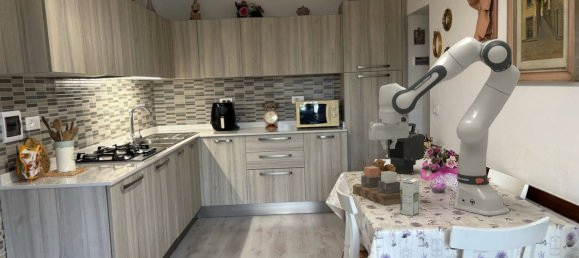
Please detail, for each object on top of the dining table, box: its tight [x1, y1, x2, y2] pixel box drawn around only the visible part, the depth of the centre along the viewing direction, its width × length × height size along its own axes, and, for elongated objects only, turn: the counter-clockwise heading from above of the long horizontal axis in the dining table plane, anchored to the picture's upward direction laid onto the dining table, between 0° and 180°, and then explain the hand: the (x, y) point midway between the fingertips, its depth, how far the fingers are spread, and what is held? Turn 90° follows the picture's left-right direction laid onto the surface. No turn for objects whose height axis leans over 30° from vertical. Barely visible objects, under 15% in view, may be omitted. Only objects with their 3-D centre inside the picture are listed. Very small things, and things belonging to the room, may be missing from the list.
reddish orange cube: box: [363, 165, 379, 178], centre depth 215 cm, size 5×5×5 cm
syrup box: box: [399, 177, 420, 217], centre depth 181 cm, size 6×6×14 cm
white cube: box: [381, 171, 398, 183], centre depth 202 cm, size 5×5×5 cm
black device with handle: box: [387, 122, 425, 175], centre depth 264 cm, size 15×18×30 cm
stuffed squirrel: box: [372, 158, 396, 176], centre depth 242 cm, size 10×14×13 cm
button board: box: [352, 174, 401, 206], centre depth 209 cm, size 26×14×9 cm, turn 24°
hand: (388, 149), depth 201 cm, fingers open, 3 cm apart
